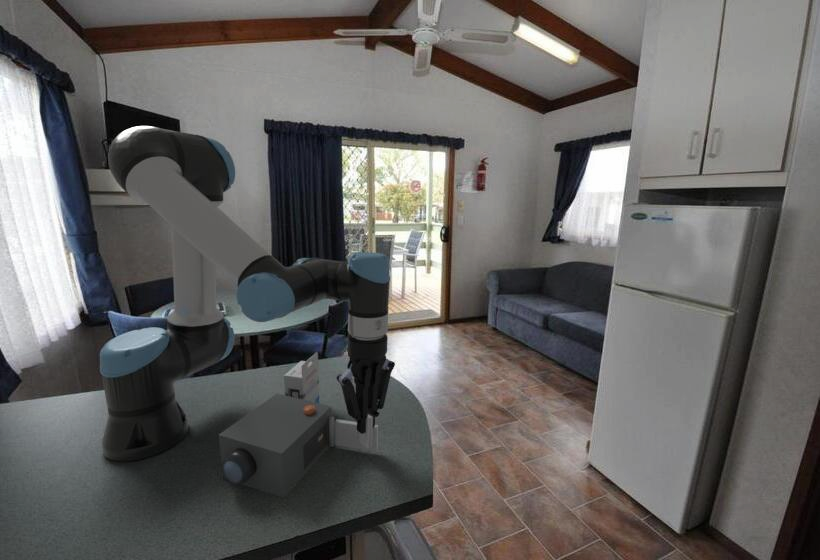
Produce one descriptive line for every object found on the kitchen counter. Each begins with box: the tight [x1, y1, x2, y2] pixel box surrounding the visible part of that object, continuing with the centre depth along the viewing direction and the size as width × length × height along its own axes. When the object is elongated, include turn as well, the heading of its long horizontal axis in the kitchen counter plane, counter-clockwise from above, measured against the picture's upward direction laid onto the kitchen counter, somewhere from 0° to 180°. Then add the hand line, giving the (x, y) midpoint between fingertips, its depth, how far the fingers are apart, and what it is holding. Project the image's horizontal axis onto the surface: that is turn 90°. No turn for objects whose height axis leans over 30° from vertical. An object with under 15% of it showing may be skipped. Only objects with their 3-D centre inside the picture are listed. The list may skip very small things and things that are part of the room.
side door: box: [334, 419, 379, 452], centre depth 77 cm, size 9×2×6 cm, turn 79°
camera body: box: [218, 393, 336, 499], centre depth 72 cm, size 15×19×10 cm
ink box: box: [283, 351, 320, 404], centre depth 90 cm, size 9×5×15 cm, turn 168°
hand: (365, 444), depth 75 cm, fingers closed
